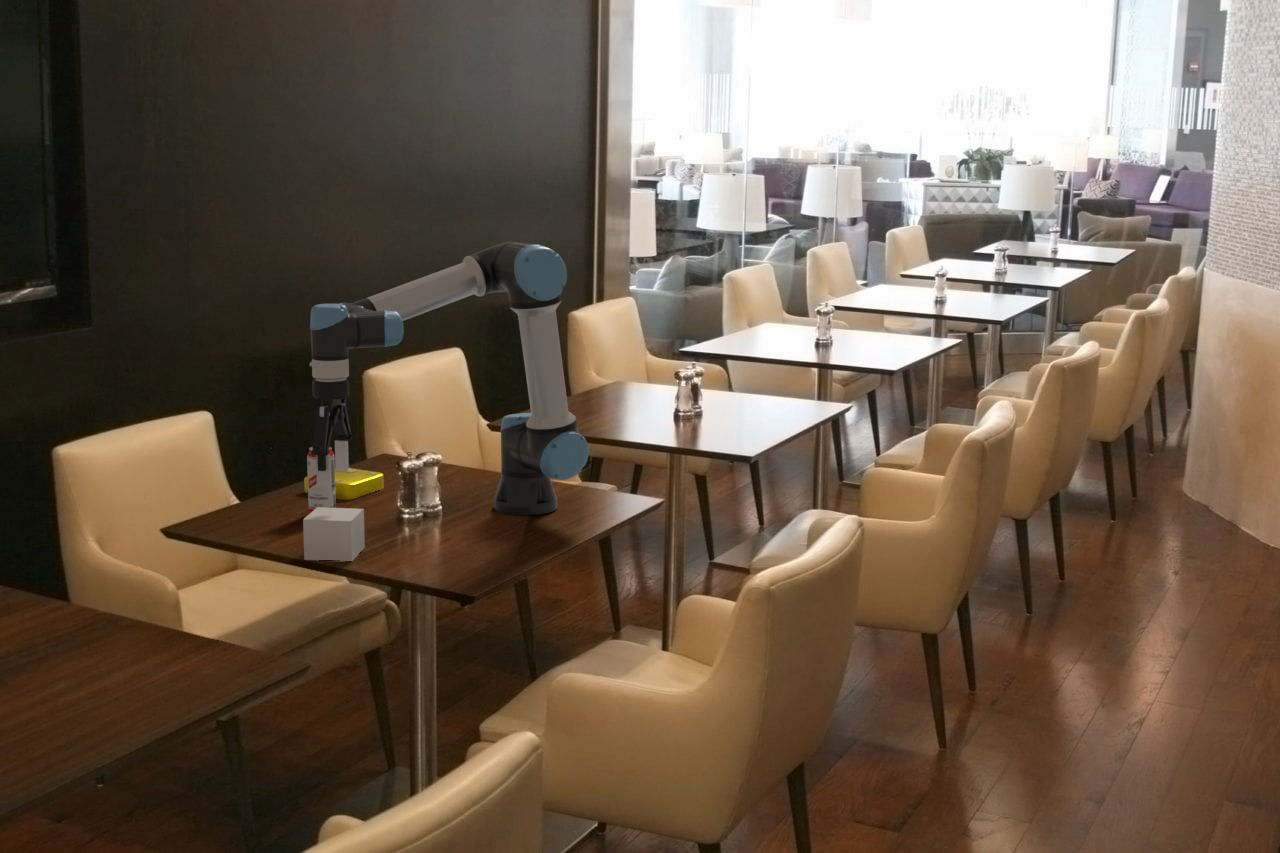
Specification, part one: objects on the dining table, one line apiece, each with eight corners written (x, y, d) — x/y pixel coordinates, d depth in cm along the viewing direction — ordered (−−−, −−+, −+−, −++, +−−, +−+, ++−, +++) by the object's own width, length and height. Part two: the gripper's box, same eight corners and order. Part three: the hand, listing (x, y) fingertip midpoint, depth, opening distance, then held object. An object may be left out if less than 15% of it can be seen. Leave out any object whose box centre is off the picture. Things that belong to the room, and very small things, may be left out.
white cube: (364, 548, 324) (363, 508, 322) (351, 561, 314) (350, 521, 312) (318, 546, 325) (317, 507, 323) (304, 559, 315) (303, 519, 313)
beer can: (332, 518, 347) (330, 451, 344) (305, 517, 347) (303, 450, 344) (338, 511, 353) (336, 445, 350) (312, 511, 354) (310, 444, 350)
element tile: (301, 494, 371) (300, 475, 370) (340, 482, 384) (339, 464, 383) (349, 502, 364) (348, 483, 363) (387, 489, 377) (386, 471, 376)
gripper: (330, 368, 324) (332, 463, 328) (294, 388, 300) (297, 491, 304) (364, 369, 323) (366, 465, 328) (331, 389, 299) (333, 492, 303)
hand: (333, 477), depth 316 cm, fingers open, 13 cm apart
